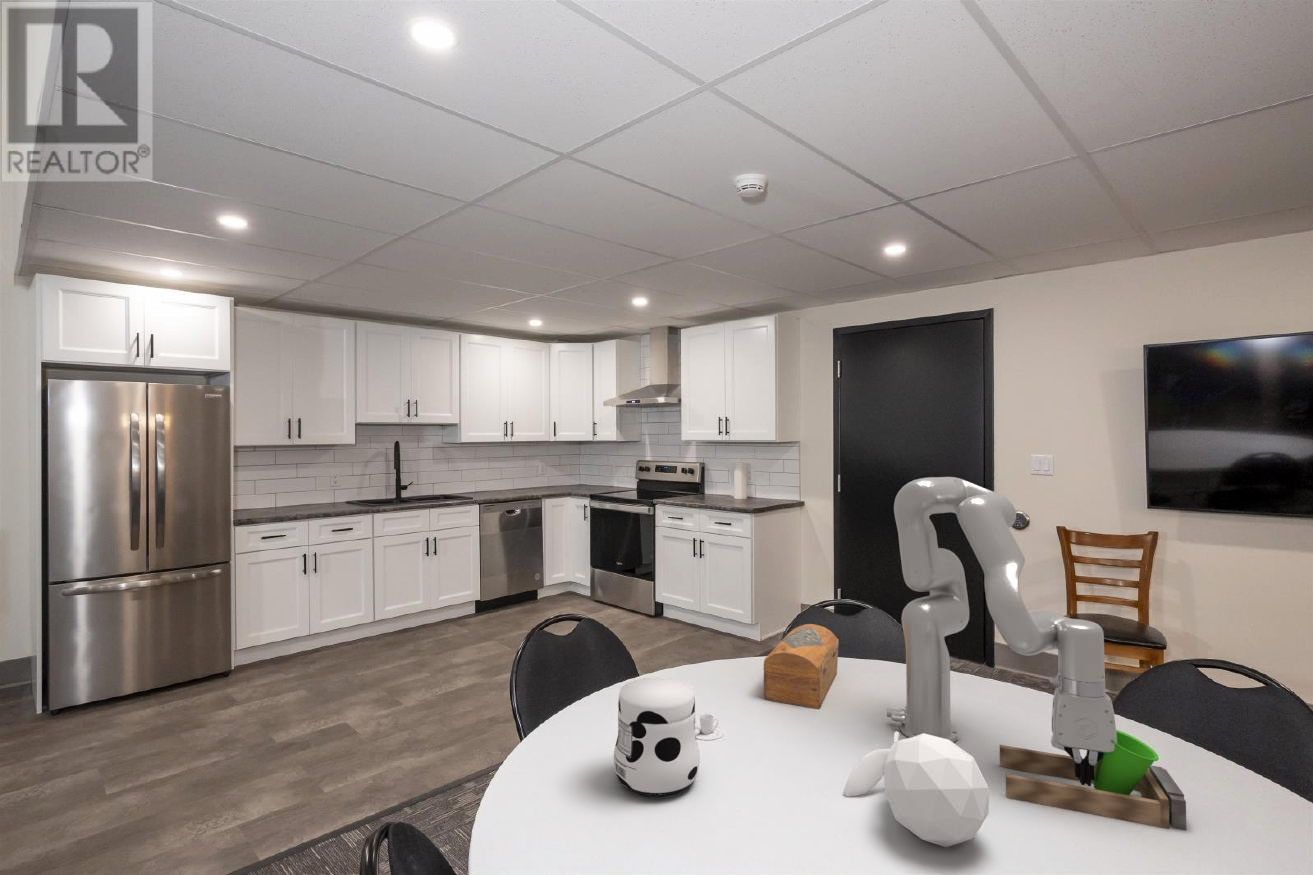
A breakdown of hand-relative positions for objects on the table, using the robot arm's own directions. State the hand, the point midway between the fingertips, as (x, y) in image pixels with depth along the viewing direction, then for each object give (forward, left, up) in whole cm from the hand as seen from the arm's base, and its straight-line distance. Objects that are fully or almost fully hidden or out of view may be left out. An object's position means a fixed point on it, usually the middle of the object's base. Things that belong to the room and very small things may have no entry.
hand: (1084, 782), depth 124 cm
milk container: (-78, -28, -3) cm, 83 cm away
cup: (+4, +1, -2) cm, 4 cm away
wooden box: (-61, +37, -3) cm, 71 cm away
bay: (0, 0, -3) cm, 3 cm away
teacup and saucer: (-78, -1, -3) cm, 78 cm away
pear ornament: (-30, -21, -3) cm, 37 cm away
